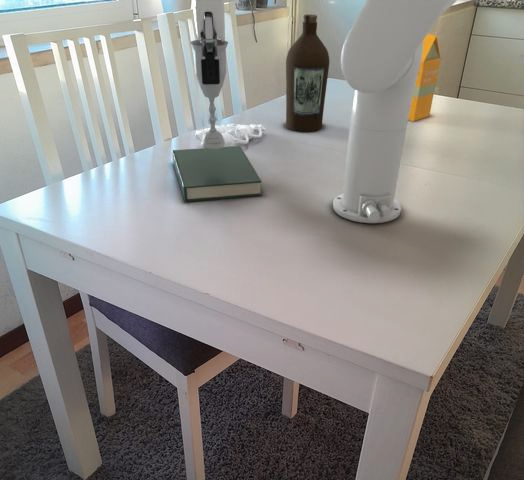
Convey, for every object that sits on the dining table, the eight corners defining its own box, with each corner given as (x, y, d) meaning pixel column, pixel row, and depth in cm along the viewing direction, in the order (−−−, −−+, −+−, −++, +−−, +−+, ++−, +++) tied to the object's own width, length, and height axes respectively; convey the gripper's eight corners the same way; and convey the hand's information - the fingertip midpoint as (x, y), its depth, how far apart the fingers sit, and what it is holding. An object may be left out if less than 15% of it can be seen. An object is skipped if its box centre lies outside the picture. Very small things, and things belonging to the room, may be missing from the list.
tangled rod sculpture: (235, 129, 143) (234, 112, 140) (280, 135, 135) (279, 118, 133) (184, 146, 130) (182, 128, 128) (231, 154, 123) (229, 134, 120)
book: (261, 195, 106) (261, 180, 104) (184, 202, 103) (183, 186, 101) (240, 159, 122) (240, 145, 120) (173, 163, 119) (172, 150, 117)
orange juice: (403, 109, 156) (416, 29, 143) (429, 116, 151) (445, 34, 138) (387, 114, 152) (399, 32, 139) (413, 121, 147) (428, 37, 134)
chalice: (229, 151, 105) (226, 46, 94) (194, 150, 105) (187, 45, 94) (231, 139, 111) (229, 39, 100) (198, 138, 111) (192, 38, 100)
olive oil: (282, 120, 146) (286, 11, 130) (321, 120, 146) (329, 12, 130) (285, 132, 137) (289, 18, 122) (326, 132, 138) (336, 18, 122)
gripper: (230, -36, 83) (233, 91, 94) (226, -42, 97) (228, 69, 108) (181, -36, 83) (189, 91, 94) (183, -43, 96) (191, 69, 107)
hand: (210, 78), depth 101 cm, fingers closed on chalice, 6 cm apart
